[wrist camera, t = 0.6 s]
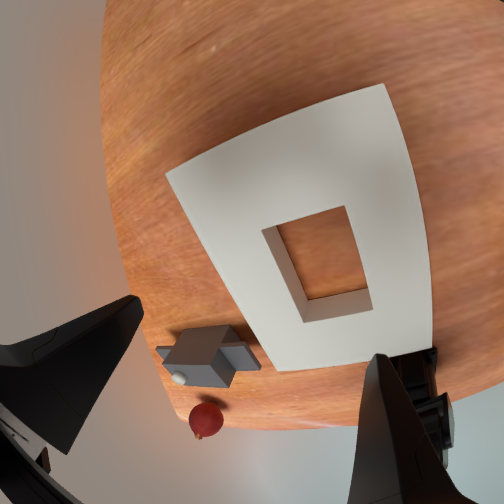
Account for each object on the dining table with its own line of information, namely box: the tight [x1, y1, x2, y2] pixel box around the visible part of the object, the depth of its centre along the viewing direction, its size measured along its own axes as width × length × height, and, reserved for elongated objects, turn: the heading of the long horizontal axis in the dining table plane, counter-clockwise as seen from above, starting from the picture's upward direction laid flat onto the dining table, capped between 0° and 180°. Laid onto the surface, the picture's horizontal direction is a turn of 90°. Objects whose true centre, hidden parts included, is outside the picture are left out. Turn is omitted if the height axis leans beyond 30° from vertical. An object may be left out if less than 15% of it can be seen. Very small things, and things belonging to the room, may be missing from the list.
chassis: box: [165, 83, 432, 371], centre depth 21 cm, size 22×16×3 cm
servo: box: [155, 324, 261, 388], centre depth 29 cm, size 13×4×7 cm, turn 116°
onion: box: [189, 402, 224, 440], centre depth 39 cm, size 6×6×8 cm
